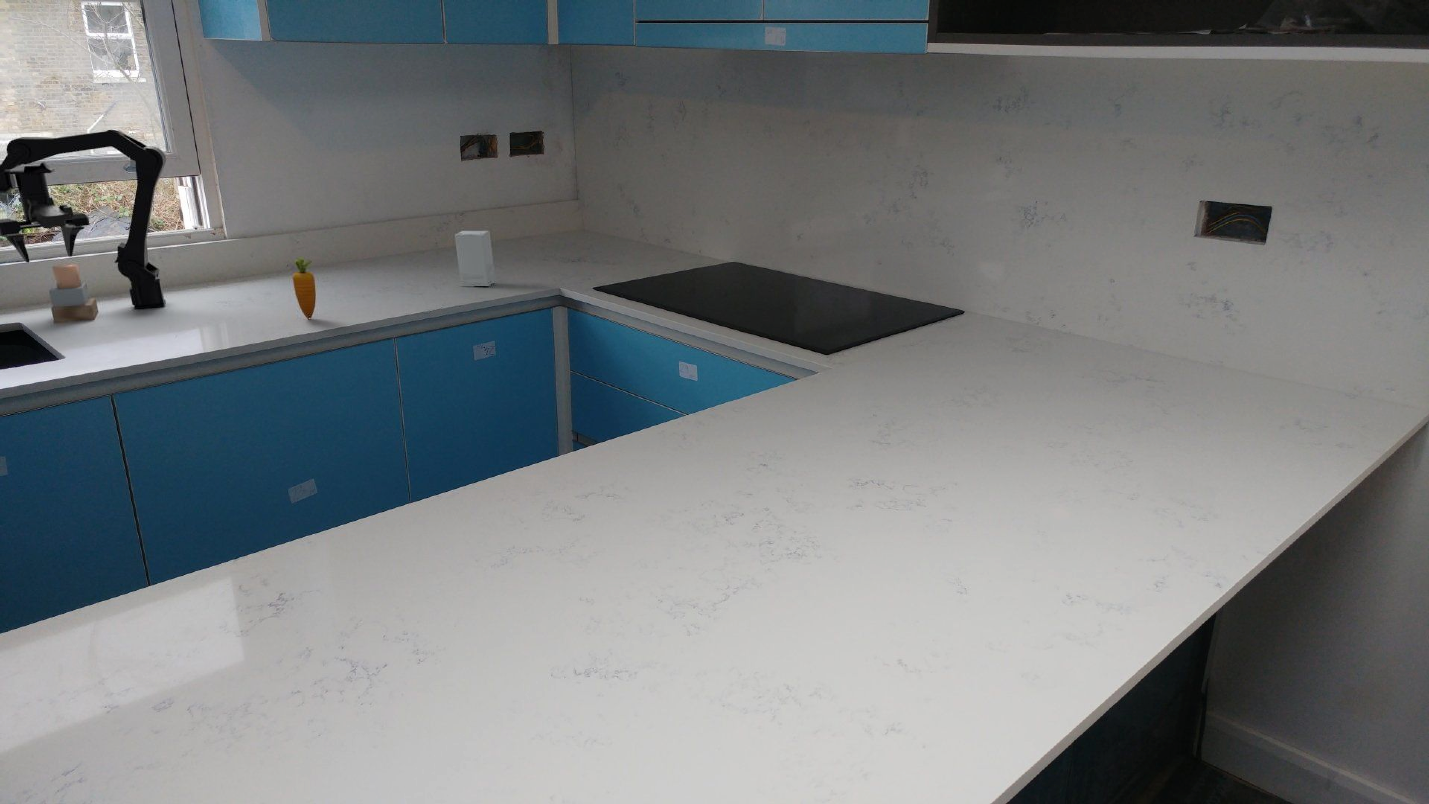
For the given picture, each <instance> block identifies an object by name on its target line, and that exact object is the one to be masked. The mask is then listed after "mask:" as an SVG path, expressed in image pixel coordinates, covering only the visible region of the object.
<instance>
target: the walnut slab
mask: <svg viewBox="0 0 1429 804" xmlns="http://www.w3.org/2000/svg"><path fill="white" fill-rule="evenodd" d="M89 298H90V297H89ZM50 310H51V314H52V319H53V323H54V324H63V323H70V322H84V321H85V322H86V321H95V319H96V318H97V316H98V314H99V308H98V302H97V299H96V297H91V298H90V299H89V301H88V302H87V303H86V305H77V306H64V307H53V306H52V305H51V307H50Z"/></svg>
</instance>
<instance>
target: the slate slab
mask: <svg viewBox="0 0 1429 804" xmlns="http://www.w3.org/2000/svg"><path fill="white" fill-rule="evenodd" d="M88 289H89V288H88V285H87V282H82V286H81V287H77V288H71V289H58V288H57V285H56V284H54V285H52V287H51V288H50V289H49V290H48V291H49V297H50V300H51V307H52V306H53V307H64V306H77V305H86V303H87V302H88V301H89V299H90V295H89V294H90V293H89V290H88Z"/></svg>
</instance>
